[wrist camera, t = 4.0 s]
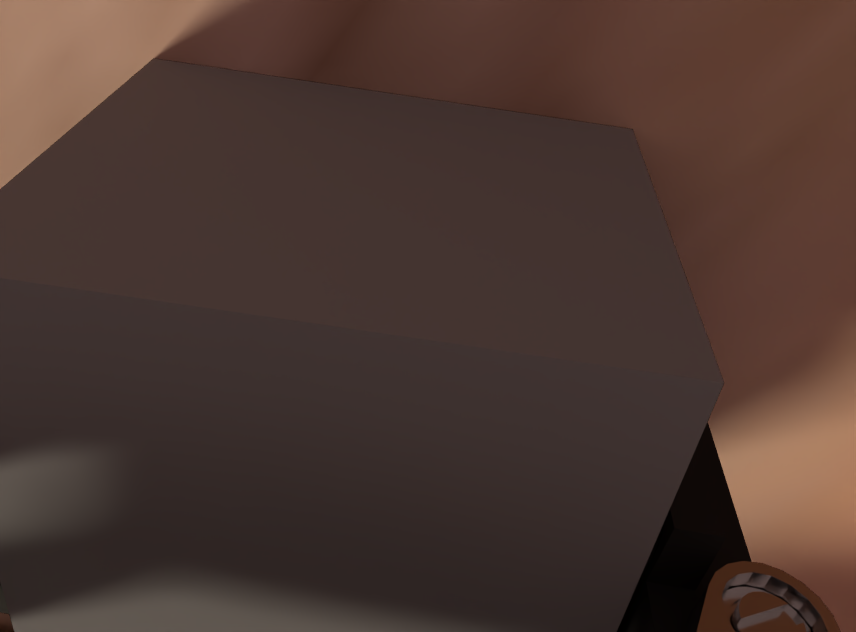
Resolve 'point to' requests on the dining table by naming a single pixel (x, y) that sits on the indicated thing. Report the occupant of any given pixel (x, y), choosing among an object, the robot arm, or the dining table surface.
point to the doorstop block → (337, 365)
